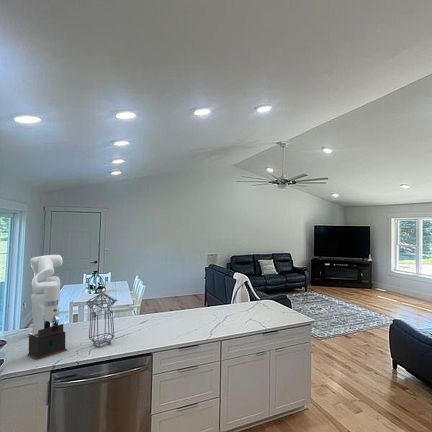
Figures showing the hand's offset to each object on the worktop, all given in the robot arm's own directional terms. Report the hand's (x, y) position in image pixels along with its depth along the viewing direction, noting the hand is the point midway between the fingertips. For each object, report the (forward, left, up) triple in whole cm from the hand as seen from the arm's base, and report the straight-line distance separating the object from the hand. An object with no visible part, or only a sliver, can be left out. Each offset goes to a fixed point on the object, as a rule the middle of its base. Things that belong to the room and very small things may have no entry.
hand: (51, 330), depth 210 cm
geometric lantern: (+11, +26, -15) cm, 32 cm away
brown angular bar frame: (-6, 0, -3) cm, 7 cm away
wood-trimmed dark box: (-5, 0, -15) cm, 16 cm away
